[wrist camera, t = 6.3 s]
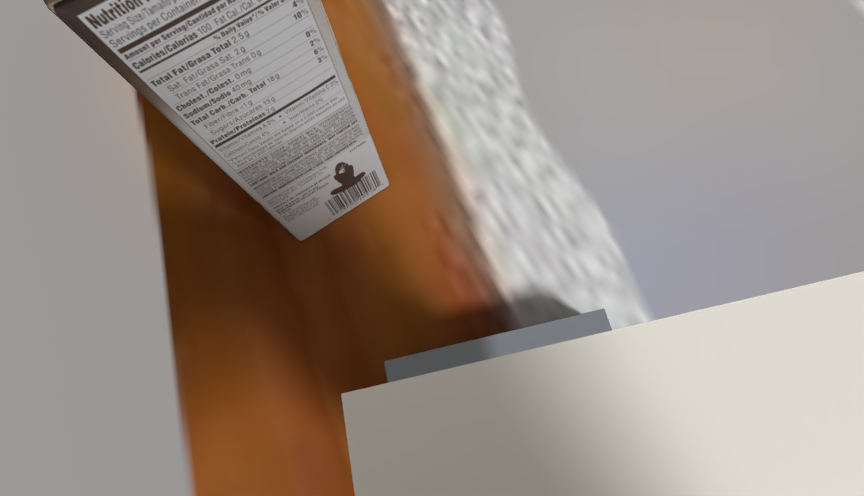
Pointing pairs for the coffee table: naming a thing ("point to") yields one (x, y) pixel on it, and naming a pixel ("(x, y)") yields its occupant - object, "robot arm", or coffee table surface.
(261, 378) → the coffee table surface
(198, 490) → the coffee table surface
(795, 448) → the post
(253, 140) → the coffee box
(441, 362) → the plinth
